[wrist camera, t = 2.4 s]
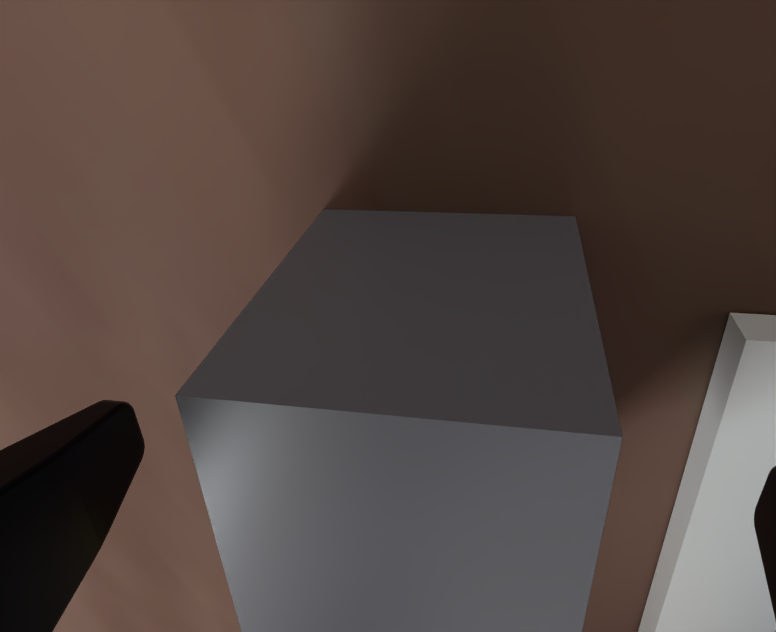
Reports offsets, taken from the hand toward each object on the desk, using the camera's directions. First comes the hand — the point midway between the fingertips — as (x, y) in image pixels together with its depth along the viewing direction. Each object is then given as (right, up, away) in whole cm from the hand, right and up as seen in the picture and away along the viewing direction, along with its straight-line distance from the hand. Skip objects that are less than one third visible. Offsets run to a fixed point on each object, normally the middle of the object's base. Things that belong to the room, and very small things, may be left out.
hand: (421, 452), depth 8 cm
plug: (+1, -3, +5) cm, 6 cm away
